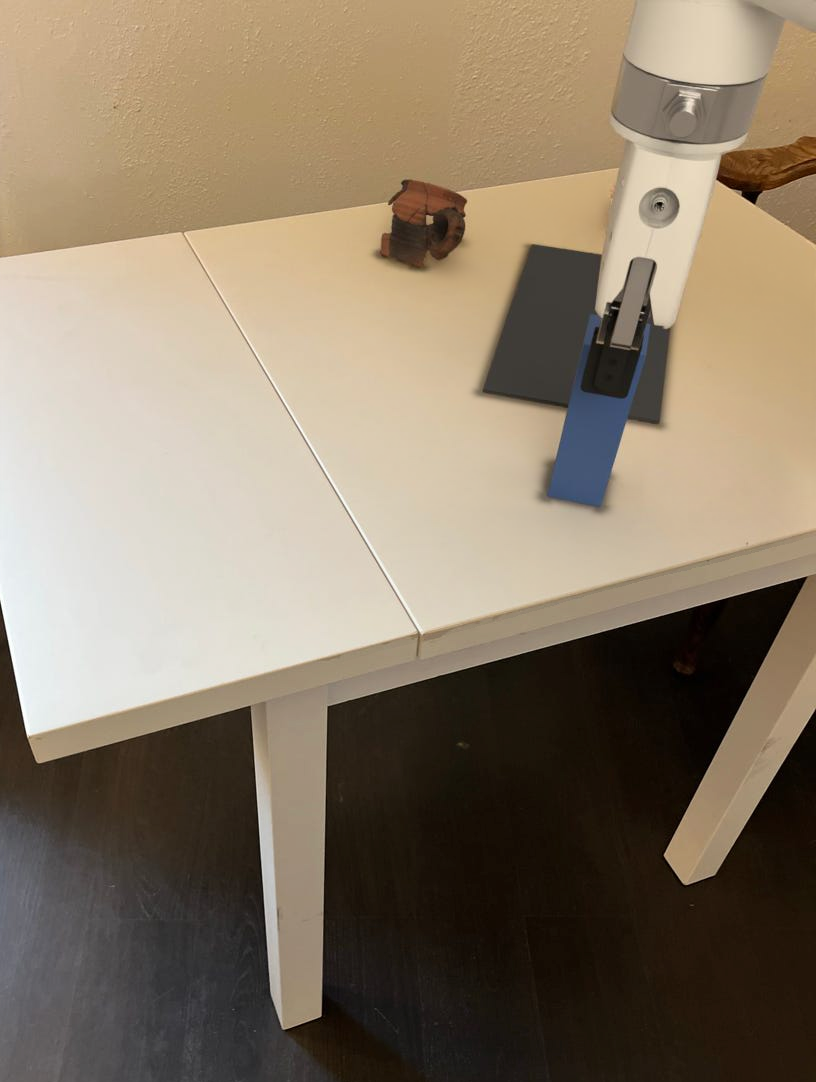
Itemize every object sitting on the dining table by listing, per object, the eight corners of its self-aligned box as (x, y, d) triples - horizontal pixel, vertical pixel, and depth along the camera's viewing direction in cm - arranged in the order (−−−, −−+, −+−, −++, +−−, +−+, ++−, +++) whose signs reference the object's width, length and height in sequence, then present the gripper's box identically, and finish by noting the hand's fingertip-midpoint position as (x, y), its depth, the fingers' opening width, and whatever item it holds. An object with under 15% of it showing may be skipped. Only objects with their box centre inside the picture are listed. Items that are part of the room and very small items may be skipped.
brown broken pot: (358, 249, 107) (379, 171, 104) (421, 270, 112) (443, 197, 110) (420, 266, 98) (446, 181, 95) (486, 288, 104) (512, 209, 101)
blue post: (606, 475, 80) (650, 323, 70) (600, 507, 77) (646, 354, 67) (554, 465, 81) (590, 313, 70) (546, 496, 78) (583, 344, 68)
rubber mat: (676, 269, 104) (677, 265, 104) (658, 424, 85) (659, 420, 85) (531, 247, 107) (531, 243, 107) (482, 392, 88) (483, 388, 88)
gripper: (756, 163, 46) (652, 464, 60) (755, 62, 56) (665, 342, 70) (601, 141, 47) (534, 441, 61) (626, 47, 57) (563, 325, 71)
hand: (604, 388), depth 65 cm, fingers closed
